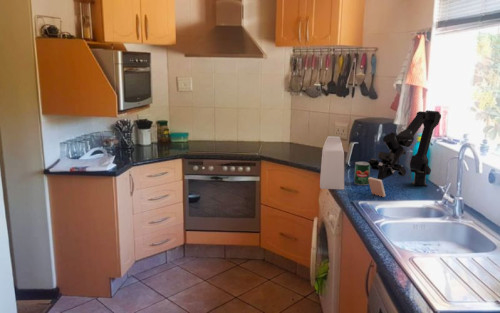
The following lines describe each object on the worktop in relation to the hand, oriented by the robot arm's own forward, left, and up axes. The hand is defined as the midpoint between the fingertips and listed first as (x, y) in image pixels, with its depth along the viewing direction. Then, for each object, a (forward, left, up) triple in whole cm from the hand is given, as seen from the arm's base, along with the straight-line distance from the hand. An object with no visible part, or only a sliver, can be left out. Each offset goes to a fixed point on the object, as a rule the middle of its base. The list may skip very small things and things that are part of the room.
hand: (378, 180), depth 214 cm
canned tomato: (-22, -5, -8) cm, 24 cm away
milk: (-14, -21, -8) cm, 27 cm away
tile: (-1, +1, -7) cm, 7 cm away
